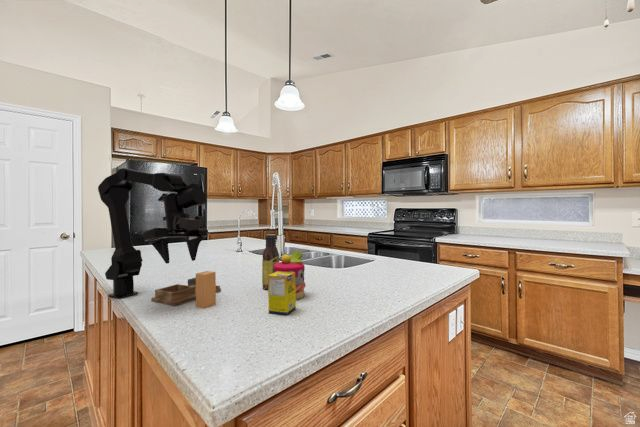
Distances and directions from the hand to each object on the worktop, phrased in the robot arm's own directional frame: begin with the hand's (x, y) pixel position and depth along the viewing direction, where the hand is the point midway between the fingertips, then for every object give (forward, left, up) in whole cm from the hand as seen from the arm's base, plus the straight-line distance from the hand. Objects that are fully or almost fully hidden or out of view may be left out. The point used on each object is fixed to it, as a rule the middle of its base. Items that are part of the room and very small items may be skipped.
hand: (181, 261), depth 93 cm
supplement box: (+31, +9, -14) cm, 35 cm away
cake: (+25, +22, -14) cm, 36 cm away
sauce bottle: (+13, +28, -14) cm, 34 cm away
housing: (-7, +8, -13) cm, 17 cm away
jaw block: (+7, +3, -13) cm, 15 cm away
